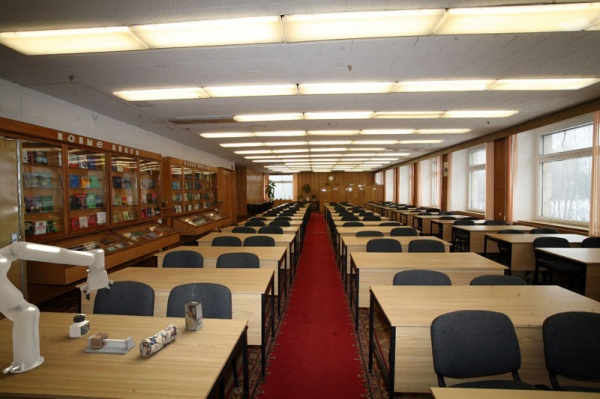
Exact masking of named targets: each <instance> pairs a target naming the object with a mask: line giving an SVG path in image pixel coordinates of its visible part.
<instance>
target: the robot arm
mask: <svg viewBox="0 0 600 399" xmlns="http://www.w3.org/2000/svg"><path fill="white" fill-rule="evenodd" d="M18 259H19V260H24V261H25V260H26V261H36V262H45V263H53V264H62V265H63V264H65V265H72V266H73V265H74V266H80V267H81V266H82V267H87V266H88V267H89V268H88V269H86V272H87V278H86V283H84V284H83V285H81V286H80V287H79V289H80V291H81V292H82V293H84V294H85V299H86V300H87V301H90V300H91V295H90V292H91V291H95V290H100V289H105V293H104V294H105V295H106V296H109V294H110V289H111V287H112V286H113V284H114V282H115V280H113V279H109V277H108V272H107V270H105V250H104V249H103V248H95V249H91V250H80V251H79V250H73V249H69V248H64V247H60V246H54V245H47V244H42V243H33V242H27V241H17V242H14V243H11V244H9V245H7V246H4V247H2V248H0V313H1V314H3V315H4V316H5V318H7V319H9V320H10V321H11V322H13V328H12V347H13V348H12V349H13V361H11V364H10V365H9V366H8V367H5V369H3V370H2V373H3V374H7V373H8V372H10V373H11V374H19V373H25V372H28V371H30V370H33V369H35V368H37V367H39V366H40V365H42V364H43V363H44V362H45V358H44V356H41V352H40V332H39V326H40V325H39V322H40V316H41V314H40V309H39V308H38V306H36V305H34V304H33V303H29V302H28V301H27V300H26V299H24V295H23V293H22V292H21V290H19V289H18V288H17V287H16V286H15V285H14V284H13V283H12V282H11V281H10V280H9V278H8V277H7V275H8V272H9V270H10V268H11V266H12V262H15V261H17V260H18ZM85 288H86V290H85Z"/></svg>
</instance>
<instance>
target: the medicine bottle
mask: <svg viewBox="0 0 600 399" xmlns="http://www.w3.org/2000/svg"><path fill="white" fill-rule="evenodd" d="M86 319H87V318H86V314H84V313H81V314H76V315H75V316H74V317H72V324H71V325H69V327H68V328H69V338H83V337H84V336H86V335H87V334H88V333H90V329H91V328H90V320H86Z"/></svg>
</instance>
